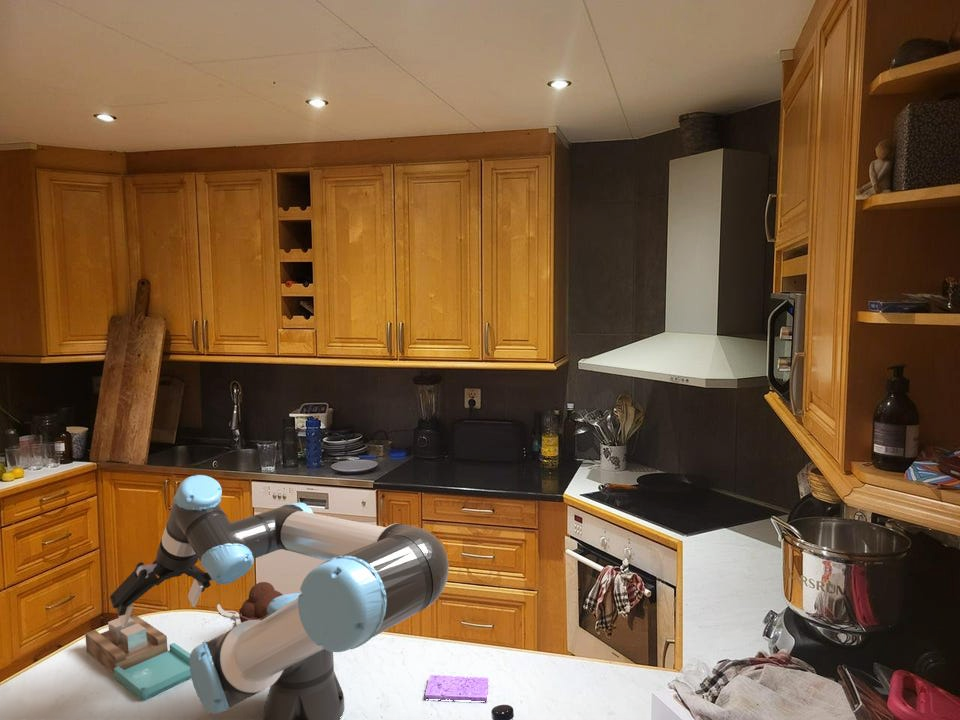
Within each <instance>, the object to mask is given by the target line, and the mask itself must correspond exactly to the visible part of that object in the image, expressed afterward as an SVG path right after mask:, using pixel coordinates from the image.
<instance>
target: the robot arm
mask: <svg viewBox="0 0 960 720" xmlns="http://www.w3.org/2000/svg"><path fill="white" fill-rule="evenodd" d="M222 494H223V488H222V486H221V484H220V482H219V481H218V480H216V479H215V478H213V477H211V476H208V475H204V474H195V475H191V476H189V477H186V478H185V479H184V480H182V481H181V482H180V484H179V486H178V489H177V491H176V493H175V494H174V496H173V501H172V505H171V508H170V511H169V515H168V517H167V521H166V524H165V527H164V531H163V533H162V537H161V539H160V542H159V545H158V549H157V551H156V557H155V560H154V561H153V562H151V564H146V565H145V563H144V562H142V561H141V562H138V563H137V564H136V565H135V568H134V570H133V571H132V572H131V573H130V574H129V576H127V578H125V580H124V581H123V582H121V584H120V585H119V586H118V587H117V588H116V589H115V590H114V591H113V593H111V595H109V598H110V599H109V600H110V602H111V604H112V609H116V611H117V613H118V618H119V619H120V622H121V625H122V627H123V628H124V627H127V624H128V621H129V618H130V616H132V611H133V609H134V605H133V603H134V602H136V601H137V600H138V599H139V598H140V597H142V596H143V595H145V594H146V593H147V592H148V591H149V590H151V589H152V588H153V587H154V586H159V585H161V584H162V583H163V582H165V581H166V580H170V579H172V578H175V577H176V578H178V577H181V576H182V575H184V574H185V575H186V576H187V577H191V578H193V581H192V585H191V586H190V589H189V592H188V595H187V597H188V601H189V602H190V605H191V607H192V608H193V607H196V606H197V604H198V601H199V598H200V597H201V596H200V595H201V593H204V591H205V589H207V588H209V587H211V586H212V584H211V582H210V581H213V582H214V583H216V584H217V585H227V584H232V583H234V582H236V581H237V580H238V579H239V578H241V577H242V578H243V577H244V576H245V575H246V574H247V573H248V572H249V571H250V570H251V568H252V567H253V565H254V561H255V560H254V559H257V558H259V557H262V556H265V555H268V554H271V553H273V552H277V551H279V550H280V551H281V550H284V551H289V552H293V553H295V554H296V553H297V554H300V555H302V556H306V557H310V558H314V559H318V560H322V561H323V562H322V563H321V564H319V565H318V566H316V567H314V568H313V569H312V570H311V571H309V573H307V575H306V576H305V577H304V579H303V580H302V583H301V586H300V589H299V590H300V592H296V593H293V592H292V593H285V594H282V596H279V597H276V598H274V599H273V600H272V601H271V602H270V603H269V605H268V608H267V611H268V615H266V616H264V617H262V618H260V619H257V620H248V621H245V622H242V623H240V624H238V625H237V626H234V627H232V628H230V629H229V630H227V631H226V632H224V633H222V634H220V635H219V636H217V637H214V638H212V639H210V640H208V641H202V643H201V644H199V645H197V646H195V647H194V648H193V649H192V650H191V652H190V660H189V665H190V673H191V678H190V679H191V681H192V685H193V687H194V690H195V693H196V696H197V698H198V699H199V702H200V703H201V705H202V706H203V708H204V709H205V710H206V711H207V712H208V713H210V714H213V715H218V714H220V713H222V712H224V711H229V710H230V708H232V707H233V706H236V705H238V704H240V703H242V702H243V701H246V700H247V699H249V698H251V697H253V696H255V695H257V694H259V693H261V692H263V691H265V690H267V689H269V691H268V693H267V699H266V701H265V704H264V707H263V720H339V719H340V720H341V718H342V717H341V716H343V715H344V713H345V695H344V692H343V690H342V686H341V685H340V682H339V680H338V679H339V678H338V677H337V674H336V671H335V669H334V668H335V666H334V653H342V652H346V651H348V650H354V649H356V648H359V647H361V646H363V645H364V644H366V643H368V642H369V641H370V640H371V639H372V638H373V637H374V638H375V637H376V636H378V635H380V634H382V633H383V632H385V631H387V630H389V629H391V628H393V627H394V626H396V625H398V624H400V623H402V622H403V621H405V620H407V619H409V618H412V617H413V616H414V615H416V614H418V613H420V612H422V611H424V610H425V609H427V608H429V607H430V606H431V605H433V604H434V603H435V602H436V601H437V600H438V599H439V597H440V596H441V594H442V593H443V591H444V590H445V588H446V584H447V582H448V578H449V571H450V570H449V569H450V566H449V558H448V554H447V552H446V549H445V547H444V545H443V544H442V542H441V540H440V539H438V538H437V537H436V536H435V535H434V534H433V533H431V532H430V531H428V530H426V529H425V528H422V527H417V526H414V525H410V524H404V523H392V524H390V525H388V526H386V527H385V526H380V525H375V524H371V523H365V522H359V521H354V520H349V519H344V518H339V517H334V516H329V515H324V514H318V513H314V512H313V510H312V508H311V507H309V506H308V505H307V504H306V503H305V502H294V503H289V504H283V505H281V506H279V507H277V508H273V509H270V510H267V511H264V512H260V513H258V514H255V515H251V516H247V517H245V518H241V519H238V520H235V521H231V520H230V519H229V518H228V516H227V514H226V512H225V511H224V510H223V508H222V507H221V506H220V505H221V504H220V503H221V501H222ZM198 561H199V562H200V564H201V567H202V568H203V569H204V570H205V571H204V570H203V569H201V568H200V567H198V566H197V565H196V564H197V563H198ZM343 712H344V713H343ZM340 717H341V718H340Z"/></svg>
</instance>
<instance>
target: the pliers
mask: <svg viewBox="0 0 960 720" xmlns="http://www.w3.org/2000/svg"><path fill="white" fill-rule="evenodd" d="M216 609H217V612H218V613H219V614H220V615H221V614H224V615H221V616H222V617H225V618H227V619H232V620H234V621H235V625H236V626H237V625H238V624H240V623H241V621H240V617H239V611H235V610H224V608H222V606H221V604H219V603H218V604H217V606H216ZM231 615H232V616H231Z"/></svg>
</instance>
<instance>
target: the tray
mask: <svg viewBox="0 0 960 720" xmlns="http://www.w3.org/2000/svg"><path fill="white" fill-rule="evenodd" d="M190 654H191V652H188V651H187V650H186V649H184V648H183V647H181V646H180V645H178V644H176V643H175V642H172V643H169V650H168V651H167V652H165V653H163V654H160V655H158V656H156V657H153V658H151V659H149V660H146V661H144V662H142V663H140V664H137V665H135V666H133V667H130V668H128V669H126V670H123V669H122V668H120V667H119V666H118V667H116V668H114V674H113V675H114V680H117V681H118V682H119V683H120V684H121V685H123V686H124V687H125V688H126V689H127V690H128V691H130V692H131V693H132V694H133V695H134V696H136V698H138V699H139V700H140V701H142V702H144V701H147V700H149V699H150V698H152V697H154V696H157V695H159V694H161V693H163V692H165V691H167V690H169V689H171V688H173V687H175V686H177V685H179V684H182V683H184V682H185V681H188V680H190V679H192V678H191V673H190V665H189V660H190Z"/></svg>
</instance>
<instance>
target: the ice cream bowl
mask: <svg viewBox="0 0 960 720" xmlns="http://www.w3.org/2000/svg"><path fill="white" fill-rule="evenodd" d="M282 595H283V593H281V592H280V591H278V590H276V589H275V588H274V585H272V583H270V582H267V581H260V582H258V583H256V584H254V585H253V586H252V587H251V588H250V590H249V592H248V598H247V599H246V600H245V601H244V602H243V604H242V605H241V607H240V608H239V611H238V614H239V617H240V621H241V623H242V622H245V621H248V620H257V619H260V618H262V617H264V616H266V615H268V611H267V608H268V605H269V603H270V602H271V601H272V600H273V599H274V598H276V597H279V596H282Z"/></svg>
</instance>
